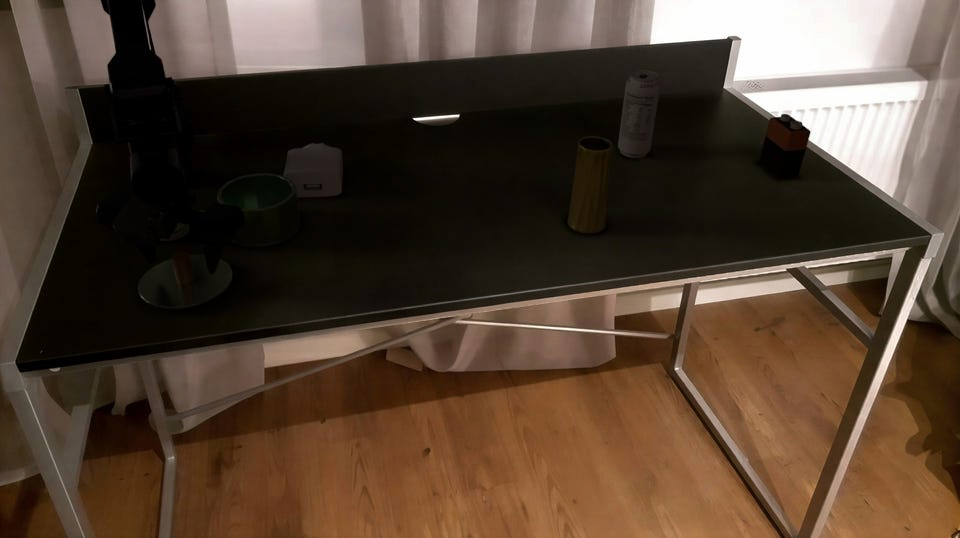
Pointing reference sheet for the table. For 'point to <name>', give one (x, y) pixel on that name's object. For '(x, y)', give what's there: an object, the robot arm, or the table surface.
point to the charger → (315, 170)
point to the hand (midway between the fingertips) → (183, 267)
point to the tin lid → (184, 282)
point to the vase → (590, 185)
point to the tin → (263, 208)
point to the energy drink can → (639, 113)
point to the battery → (784, 146)
